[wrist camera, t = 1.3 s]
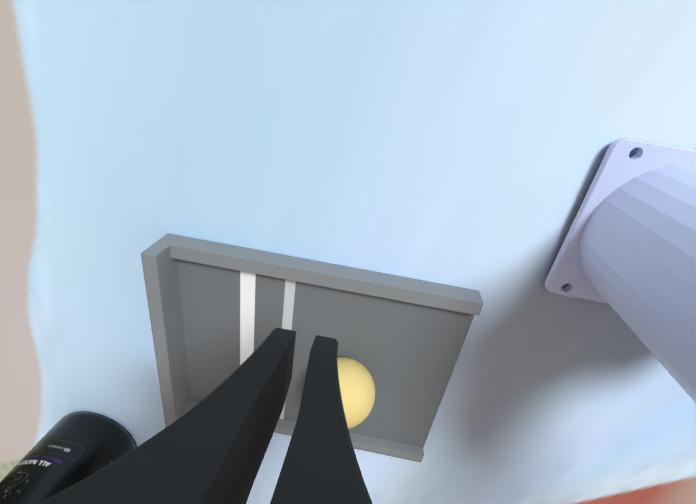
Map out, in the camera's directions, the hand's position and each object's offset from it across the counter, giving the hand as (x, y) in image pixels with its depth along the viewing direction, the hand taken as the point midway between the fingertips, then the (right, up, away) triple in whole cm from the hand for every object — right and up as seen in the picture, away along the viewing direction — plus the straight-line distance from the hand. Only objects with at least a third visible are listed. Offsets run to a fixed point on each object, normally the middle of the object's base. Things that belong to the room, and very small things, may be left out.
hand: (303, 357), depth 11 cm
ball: (+1, -4, +12) cm, 13 cm away
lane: (-1, -3, +13) cm, 13 cm away
